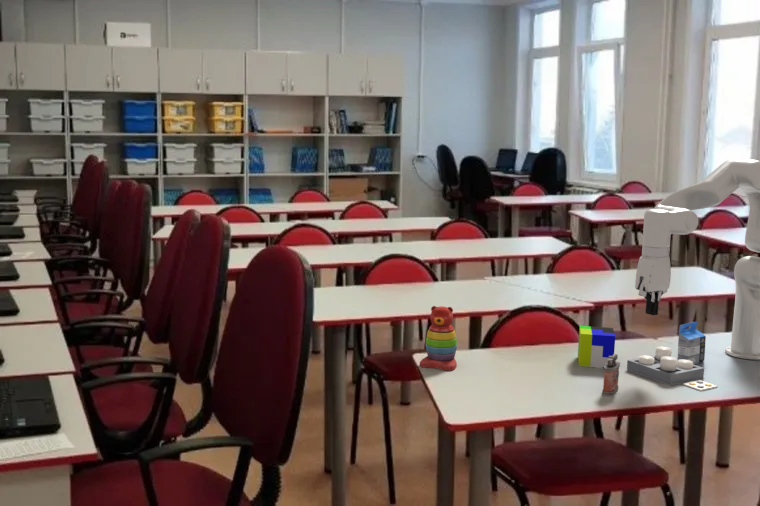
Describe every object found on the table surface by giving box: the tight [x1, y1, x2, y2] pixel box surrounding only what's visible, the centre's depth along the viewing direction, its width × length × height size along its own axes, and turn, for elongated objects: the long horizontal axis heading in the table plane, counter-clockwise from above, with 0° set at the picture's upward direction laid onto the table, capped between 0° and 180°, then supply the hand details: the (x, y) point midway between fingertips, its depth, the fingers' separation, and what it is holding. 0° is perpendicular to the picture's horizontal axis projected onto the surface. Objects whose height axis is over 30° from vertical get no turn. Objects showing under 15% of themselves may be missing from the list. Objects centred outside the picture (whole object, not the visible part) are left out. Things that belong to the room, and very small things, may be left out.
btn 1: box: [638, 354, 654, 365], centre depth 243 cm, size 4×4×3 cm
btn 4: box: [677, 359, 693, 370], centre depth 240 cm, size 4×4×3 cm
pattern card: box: [682, 379, 719, 392], centre depth 231 cm, size 7×6×1 cm
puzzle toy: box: [577, 325, 616, 368], centre depth 251 cm, size 10×10×10 cm
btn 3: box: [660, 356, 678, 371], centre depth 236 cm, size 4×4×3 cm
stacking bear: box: [419, 305, 458, 371], centre depth 246 cm, size 11×10×18 cm
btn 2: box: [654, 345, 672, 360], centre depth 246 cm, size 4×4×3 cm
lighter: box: [601, 353, 621, 397], centre depth 225 cm, size 8×3×10 cm, turn 148°
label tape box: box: [677, 321, 706, 365], centre depth 252 cm, size 9×4×12 cm, turn 126°
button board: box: [626, 354, 705, 386], centre depth 242 cm, size 14×16×3 cm
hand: (651, 314), depth 241 cm, fingers closed
